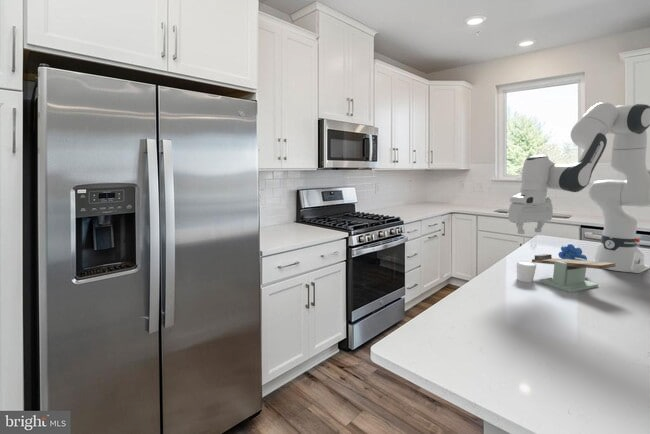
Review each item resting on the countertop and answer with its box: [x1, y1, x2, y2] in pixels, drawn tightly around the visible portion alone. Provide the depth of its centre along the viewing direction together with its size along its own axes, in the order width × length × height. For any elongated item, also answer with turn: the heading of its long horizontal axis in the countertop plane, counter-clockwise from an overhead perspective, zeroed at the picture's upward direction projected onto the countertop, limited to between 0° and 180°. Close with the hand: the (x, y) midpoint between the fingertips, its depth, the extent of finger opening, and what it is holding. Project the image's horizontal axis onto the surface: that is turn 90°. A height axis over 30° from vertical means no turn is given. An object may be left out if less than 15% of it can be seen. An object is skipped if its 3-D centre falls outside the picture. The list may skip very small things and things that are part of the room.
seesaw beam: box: [531, 253, 616, 270], centre depth 136 cm, size 26×10×4 cm, turn 22°
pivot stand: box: [539, 258, 599, 293], centre depth 137 cm, size 16×12×10 cm
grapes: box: [557, 243, 588, 261], centre depth 152 cm, size 12×7×12 cm, turn 25°
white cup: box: [516, 260, 537, 283], centre depth 142 cm, size 7×7×7 cm
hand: (529, 233), depth 139 cm, fingers open, 8 cm apart
